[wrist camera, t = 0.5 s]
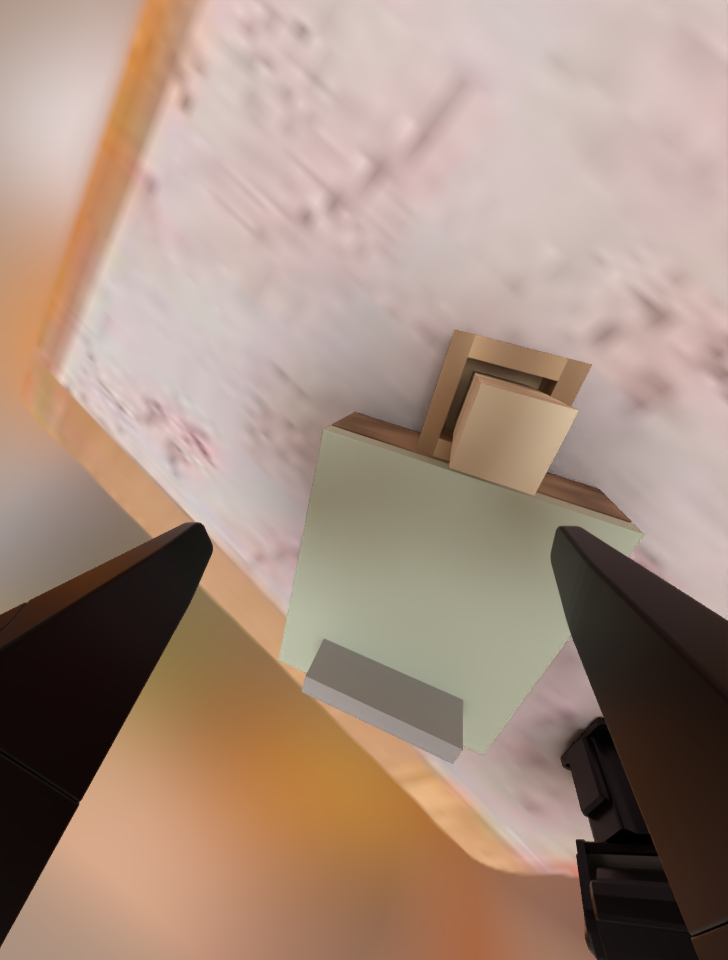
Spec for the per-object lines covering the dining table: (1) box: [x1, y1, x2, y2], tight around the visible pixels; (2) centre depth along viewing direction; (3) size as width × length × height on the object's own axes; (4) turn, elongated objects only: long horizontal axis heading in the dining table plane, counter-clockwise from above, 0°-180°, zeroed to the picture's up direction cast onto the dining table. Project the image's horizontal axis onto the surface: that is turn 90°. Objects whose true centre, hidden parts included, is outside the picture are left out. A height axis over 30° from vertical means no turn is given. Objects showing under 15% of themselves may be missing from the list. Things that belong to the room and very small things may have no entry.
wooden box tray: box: [332, 330, 631, 523], centre depth 22 cm, size 16×25×4 cm, turn 165°
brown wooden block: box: [449, 370, 579, 495], centre depth 15 cm, size 3×3×9 cm
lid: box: [279, 425, 645, 764], centre depth 19 cm, size 16×19×4 cm
